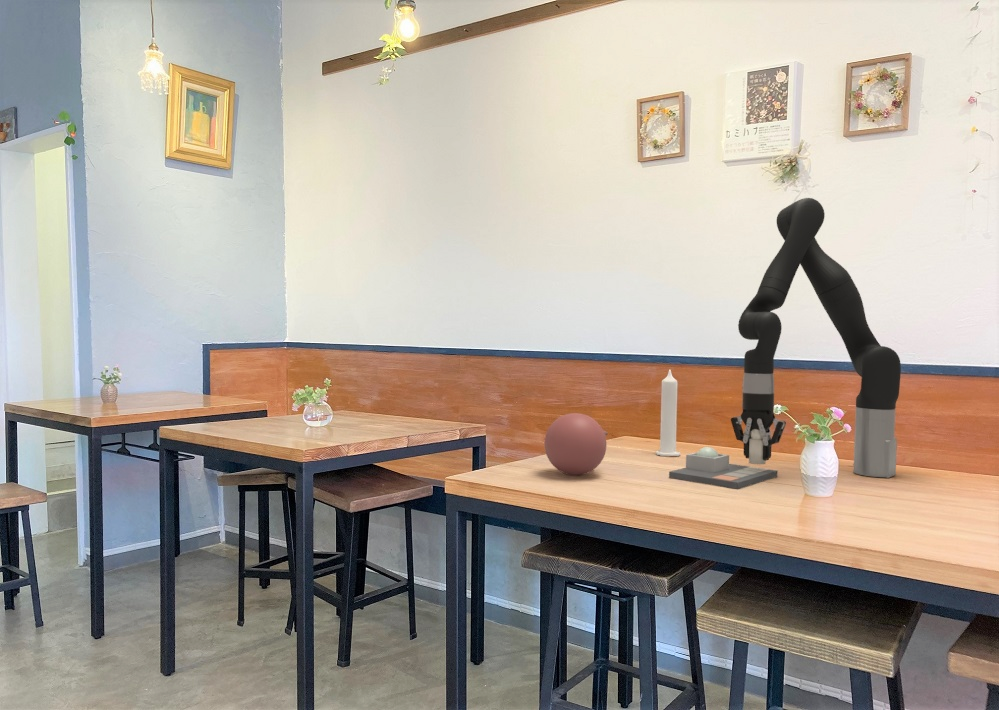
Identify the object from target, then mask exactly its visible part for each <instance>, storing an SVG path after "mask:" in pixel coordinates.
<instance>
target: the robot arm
mask: <svg viewBox="0 0 999 710" xmlns="http://www.w3.org/2000/svg"><path fill="white" fill-rule="evenodd" d="M825 213H826V212H825V209H824V207H823V205H822V204H821V203H820V202H819V201H818V200H817V199H815V198H813V197H804V198H800V199H798V200H796V201H794V202H793V203H791V204H789V205H788V206H786V207H785V208H783V209H781V210H780V211H779V212H778V214H777V217H776V227H777V230H778V232H779V234H780V236H781V237H782V239H783V240H784V242H783V243H782V245H781V247H780V249H779V250H778V252H777V254H775V256H774V258H773V259H772V261H771V262H770V264H769V266H768V267H767V269H766V270H765V272H764V275H763V277H762V280H761V282H760V284H759V286H758V289H757V292H756V294H755V296H754V297H753V298H752V299H751V300H750V302H749V303H748V304H747V306H746V307H745V309H744V310H743V311H742V313H741V315H740V317H739V319H738V320H739V321H738V324H737V326H738V333H739V334H740V336H741V337H742V338H744V339H746V340H749V341H750V340H751V341H752V340H753V341H755V340H756V341H757V343H756V346H755V348H752V349H749V350H747V351H746V352H745V353H744V360H743V364H744V365H743V379H742V387H741V388H742V389H741V390H742V402H741V404H742V406H741V407H742V412H741V414H740V416H733V417H730V422H731V425H732V429H733V432H734V435H735V439H736V440H737V441H740V442H742V443H743V455H744V457H745V459H749V439H752V438H751V435H750V433H751V431H752V430H754V429H757V430H759V431H760V434H761V437H762V439H763V443H764V446H763V460H765V461H766V462H767V461H769V460H770V459H771V457H772V446H773V445H776V444H779V443H780V441H781V437H782V435H783V433H784V431H785V427H786V423H787V422H786V421H785V420H780V419H777V418H776V416H775V414H774V410H775V377H774V370H775V369H774V364H775V363H774V362H775V361H774V359H775V356H776V355H775V354H776V351H777V348H778V344H779V341H780V339H781V335H782V322H781V318H780V317H779V316H778V314H777V313H775V312H773V311H774V310H777V309H781V307H783V305H784V304H785V302H786V299H787V296H788V294H789V291H790V288H791V286H792V283H793V280H794V278H795V276H796V273H797V271H798V269H799V267H800V266H801V268H802V270H803V272H804V273H805V275H806V277H807V279H808V280H809V282H810V284H811V286H812V288H813V289H814V292H815V293H816V296H817V297H818V300H819V302H820V303H821V305H822V307H823V309H824V310H825V313H826V314H827V316H828V318H829V319H830V321H831V323H832V324H833V325H834V328H835V330H836V331H837V332H838V334H839V336H840V337H841V340H842V341H843V343H844V346H845V348H846V351H847V353H848V354H847V355H849V359H850V361H851V363H852V367H853V368H854V370H855V373H856V374H858V375H859V376H860V377H861V381H860V390H859V392H858V395H857V396H856V397H855V398H856V399H855V413H854V414H855V415H854V416H855V418H854V420H855V421H854V444H853V445H854V447H853V448H854V449H853V473H854V474H856V475H860V476H866V477H874V478H875V477H876V478H888V479H890V478H892V477H893V476H896V475H897V474H896V472H897V447H898V439H897V437H895V434H896V433H895V432H896V430H895V429H896V408H897V407H896V406H897V405H896V404H897V401H898V399H899V396H900V386H901V374H902V373H901V370H902V369H901V368H902V366H901V359H900V357H899V354H898V353H897V352H896V351H895V350H894V349H893V348H890V347H889V346H883V345H881V344H880V343H879V342H878V340H877V338H876V337H875V335H874V334H873V332H872V330H871V328H870V326H869V324H868V322H867V321H868V320H867V317H866V313H865V306H864V303H863V300H862V299H863V298H862V297H861V294H860V292H859V289H858V287H857V286H856V283H855V281H854V280H853V278H852V276H851V275H850V273H849V272H848V270H847V269H846V268H844V266H842V265H841V264H840V263H839V262H837V261H836V260H835V259H833V258H832V257H831V256H829V255H828V254H827V253H826V252H825V251H824V250H823V249H822V248H821V246H820V244H819V243H818V241H817V239H816V235H817V234H818V233H819V231H820V230H821V227H822V226H823V223H824V221H825ZM743 423H744V425H745V428H744V430H743V427H742V424H743ZM773 424H774V425H773ZM772 425H773V427H774V431H773V433H772V431H771V426H772Z"/></svg>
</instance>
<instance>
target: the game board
mask: <svg viewBox="0 0 999 710" xmlns="http://www.w3.org/2000/svg"><path fill="white" fill-rule="evenodd" d="M697 453H698V451H696V452H692V453H687V454H685V467H682V468H678V469H674V470H670V471H669V473H668V479H675V480H681V481H686V482H693V483H697V484H698V483H700V484H704V485H712V486H717V487H723V488H729V489H734V490H739V489H743V488H746V487H749V486H752V485H755V484H759V483H762V482H765V481H768V480H770V479H773V478H777V477H778V470H776V469H769V468H761V467H755V466H747V465H741V464H733V463H730V455H729V454H724V453H718V456H719V457H715V458H710V457H703V456H697Z"/></svg>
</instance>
